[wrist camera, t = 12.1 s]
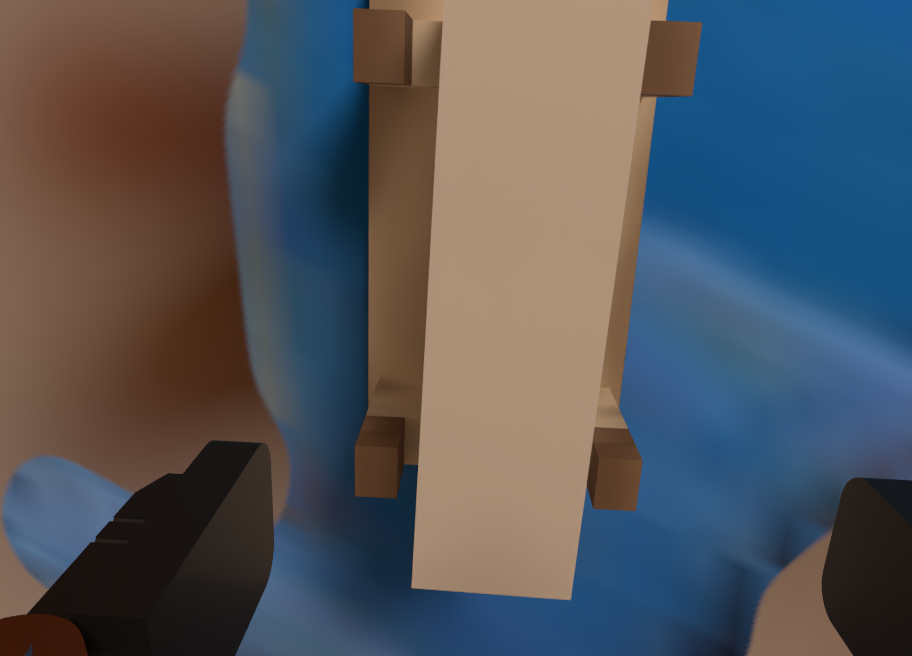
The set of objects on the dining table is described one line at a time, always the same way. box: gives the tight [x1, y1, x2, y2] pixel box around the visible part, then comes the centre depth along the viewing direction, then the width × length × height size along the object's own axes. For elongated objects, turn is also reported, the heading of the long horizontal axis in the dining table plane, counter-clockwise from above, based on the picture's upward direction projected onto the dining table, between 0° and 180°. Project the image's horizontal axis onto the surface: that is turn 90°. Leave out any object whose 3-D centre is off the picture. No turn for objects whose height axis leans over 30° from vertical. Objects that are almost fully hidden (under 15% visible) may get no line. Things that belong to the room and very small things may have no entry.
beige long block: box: [412, 0, 654, 600], centre depth 22 cm, size 5×18×6 cm, turn 176°
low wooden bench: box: [353, 0, 702, 511], centre depth 26 cm, size 11×20×8 cm, turn 178°
